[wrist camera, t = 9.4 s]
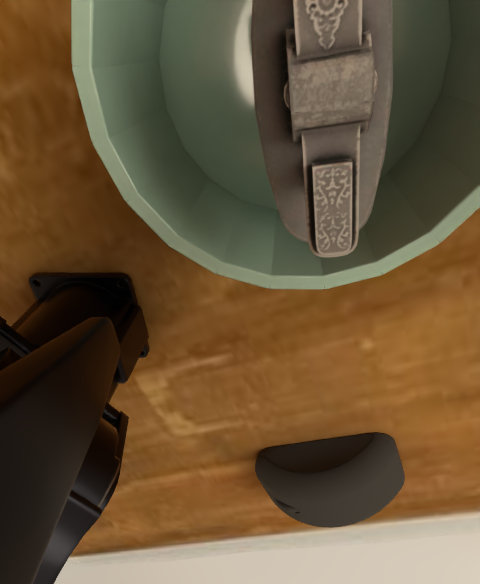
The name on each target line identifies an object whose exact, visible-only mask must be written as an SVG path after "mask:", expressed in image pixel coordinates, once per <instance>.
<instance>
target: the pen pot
mask: <svg viewBox="0 0 480 584" xmlns="http://www.w3.org/2000/svg"><path fill="white" fill-rule="evenodd" d="M391 3H392V43H393V93H392V101H391V109H390V117H389V125H388V133H387V141H386V149H385V157H384V162H383V166H382V170H381V174H380V178H379V182H378V186H377V190H376V195H375V199H374V203H373V207H372V211H371V214H370V216H369V218H368V220H367V222H366V224H365V225H364V226H363V227H362V228H361V229H360V230H359V231H358V241H357V246H356V247H355V249H354V250H353V251H352V252H350V253H349V254H347V255H343V256H339V257H319V256H317V255H315V254H314V253H313V252H312V251H311V250H310V247H309V243H307V242H304V241H301V240H298V239H297V238H296V237H294V236H293V235H292V234H290V233H289V232H288V231H287V229H286V228H285V226H284V224H283V222H282V220H281V217H280V214H279V211H278V208H277V204H276V201H275V198H274V195H273V192H272V188H271V185H270V182H269V179H268V176H267V173H266V168H265V162H264V157H263V152H262V146H261V141H260V136H259V130H258V125H257V120H256V114H255V105H254V87H253V69H252V52H251V14H252V0H71V60H72V66H73V67H72V71H73V75H74V78H75V82H76V86H77V90H78V93H79V97H80V101H81V105H82V108H83V112H84V116H85V120H86V123H87V127H88V131H89V135H90V138H91V141H92V144H93V146H94V148H95V149H96V151H97V153H98V155H99V156H100V158H101V160H102V162H103V164H104V165H105V167H106V169H107V171H108V172H109V174H110V176H111V178H112V180H113V181H114V183H115V185H116V187H117V188H118V190H119V192H120V194H121V195H122V197H123V199H124V201H126V203H127V204H128V205H129V206H130V207H131V208H132V209H133V210H134V211H135V212H136V213H137V214H138V215H139V216H140V217H141V218H142V219H143V220H144V222H145V223H146V224H147V225H148V226H149V227H150V228H151V229H152V230H153V231H154V232H155V233H156V234H157V235H158V236H159V237H160V238H161V239H162V240H163V241H164V242H165V243H166V244H168V246H169V247H171V248H172V249H174V250H176V251H177V252H179V253H181V254H183V255H184V256H186V257H188V258H189V259H191V260H193V261H194V262H196V263H198V264H199V265H201V266H203V267H204V268H206V269H208V270H209V271H211V272H213V273H214V274H216V273H217V274H218V275H221V276H224V277H228V278H231V279H235V280H239V281H242V282H246V283H249V284H253V285H257V286H260V287H264V288H270V289H324V288H325V289H329V288H333V287H337V286H341V285H345V284H348V283H352V282H356V281H360V280H364V279H368V278H372V277H376V276H380V275H382V274H385V273H387V272H389V271H391V270H392V269H394V268H396V267H398V266H400V265H402V264H403V263H405V262H407V261H409V260H411V259H413V258H415V257H416V256H418V255H420V254H422V253H424V252H426V251H427V250H429V249H431V248H433V247H435V246H437V245H438V244H439V242H442V241H443V240H444V239H445V238H446V237H448V236H449V235H450V234H451V233H452V232H453V231H454V230H455V229H456V228H457V227H459V226H460V225H461V224H462V223H463V222H464V221H465V220H466V219H467V218H468V217H470V216H471V215H472V214H473V213H474V212H475V211H476V210H477V209H478V208H479V207H480V0H391Z"/></svg>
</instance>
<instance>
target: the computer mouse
mask: <svg viewBox="0 0 480 584" xmlns="http://www.w3.org/2000/svg"><path fill="white" fill-rule="evenodd" d="M255 471H256V475H257V477H258V479H259V480H260V482H261V484H262V485H263V487H264V488H265V490H266V491H267V493H268V494H269V496H270V498H271V499H272V501H273V502H274V503H275V504H276V505H277V506H278V507H279V508H280V509H281V510H282V511H283V512H284V513H286V514H287V515H289V516H290V517H292V518H294V519H296V520H298V521H300V522H302V523H305V524H308V525H312V526H318V527H342V526H347V525H351V524H355V523H358V522H360V521H363V520H365V519H367V518H369V517H371V516H373V515H374V514H376V513H377V512H379V511H380V510H382V509H383V508H384V507H385V506H386V505H388V504H389V503H390V502H391V501H392V499H393V498H394V497H395V496H396V495H397V494H398V492H399V491H400V489H401V488H402V486H403V484H404V479H405V476H404V471H403V467H402V464H401V460H400V457H399V454H398V450H397V447H396V444H395V441H394V439H393V438H392V437H390V436H389V435H386V434H383V433H373V434H371V433H368V434H361V435H354V436H347V437H340V438H333V439H326V440H319V441H312V442H305V443H298V444H291V445H284V446H277V447H271V448H267V449H265V450H263V451H262V452H261V453H260V454H259V456H258V458H257V460H256V464H255Z"/></svg>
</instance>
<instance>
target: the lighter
mask: <svg viewBox="0 0 480 584" xmlns="http://www.w3.org/2000/svg"><path fill="white" fill-rule="evenodd" d="M251 52H252V69H253V87H254V105H255V114H256V120H257V125H258V130H259V136H260V141H261V146H262V152H263V157H264V162H265V168H266V173H267V176H268V179H269V182H270V185H271V188H272V192H273V195H274V198H275V201H276V204H277V208H278V211H279V214H280V217H281V220H282V222H283V224H284V226H285V228H286V229H287V231H288V232H289V233H290V234H292V235H293V236H294V237H296V238H297V239H298V240H301V241H304V242H307V243H309V247H310V250H311V251H312V252H313V253H314V254H315V255H317V256H319V257H339V256H343V255H347V254H349V253H350V252H352V251H353V250H354V249H355V247H356V246H357V241H358V231H359V230H360V229H361V228H362V227H363V226H364V225H365V224H366V222H367V220H368V218H369V216H370V214H371V211H372V207H373V203H374V199H375V195H376V190H377V186H378V182H379V178H380V174H381V170H382V166H383V162H384V157H385V149H386V141H387V133H388V125H389V117H390V109H391V101H392V93H393V43H392V3H391V0H252V14H251Z"/></svg>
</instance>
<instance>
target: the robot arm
mask: <svg viewBox="0 0 480 584" xmlns="http://www.w3.org/2000/svg"><path fill="white" fill-rule="evenodd" d="M37 280H38V281H39V282H40V283H39V282H38V281H37ZM120 280H122V281H124V282H125V284H123V283H121V282H120ZM29 283H30V286H31V288H32V290H33V293H34V295H35V297H36V299H37V301H36V302H35V303H34V304H33V305H32V306H31V307H30V308H29V309H28V310H27V311H26V312H25V313H24V314H23V315H22V316H21V317H20V318H19V319H18V320H17V321H16V322H15V323H14V324H13V325H12V326H11V327H10V326H9V325H8V324H6V322H7V321H6V320H4V319H3V318H2V317H1V316H0V584H54V582H55V580H56V578H57V576H58V574H59V573H60V571H61V569H62V568H63V566H64V564H65V563H66V561H67V559H68V557H69V556H70V555H71V553H72V552H73V550H74V549H75V547H76V546H77V544H78V543H79V541H80V540H81V539H82V537H83V536H84V535H85V533H86V532H87V531H88V530H89V529H90V528H91V526H92V525H93V524H94V523H95V522H96V520H97V519H98V518H99V517H100V515H101V513H102V512H103V510H104V508H105V507H106V505H107V504H108V502H109V500H110V498H111V497H112V495H113V493H114V490H115V488H116V485H117V483H118V479H119V475H120V468H121V462H122V456H123V450H124V444H125V438H126V431H127V425H128V419H129V417H128V416H127V415H125V414H124V413H123V412H122V411H120V412H119V411H117V410H116V409H115V408H114V407H112V406H111V405H110V404H109V402H110V400H111V398H112V396H113V394H114V392H115V390H116V388H117V386H118V384H119V383H125V382H126V381H127V380H128V379H129V377H130V375H131V373H132V371H133V368H134V366H135V364H136V362H137V360H138V358H143V357H146V356H147V355H148V352H149V345H148V341H147V340H148V337H149V336H148V332H147V328H146V324H145V321H144V317H143V313H142V309H141V307H140V306H139V305H138V303H137V299H136V296H135V292H134V288H133V284H132V280H131V278H130V277H129V276H128V275H126V274H123V273H35V274H34V275H33V276H31V277H30V278H29ZM142 350H143V351H142Z"/></svg>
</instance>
